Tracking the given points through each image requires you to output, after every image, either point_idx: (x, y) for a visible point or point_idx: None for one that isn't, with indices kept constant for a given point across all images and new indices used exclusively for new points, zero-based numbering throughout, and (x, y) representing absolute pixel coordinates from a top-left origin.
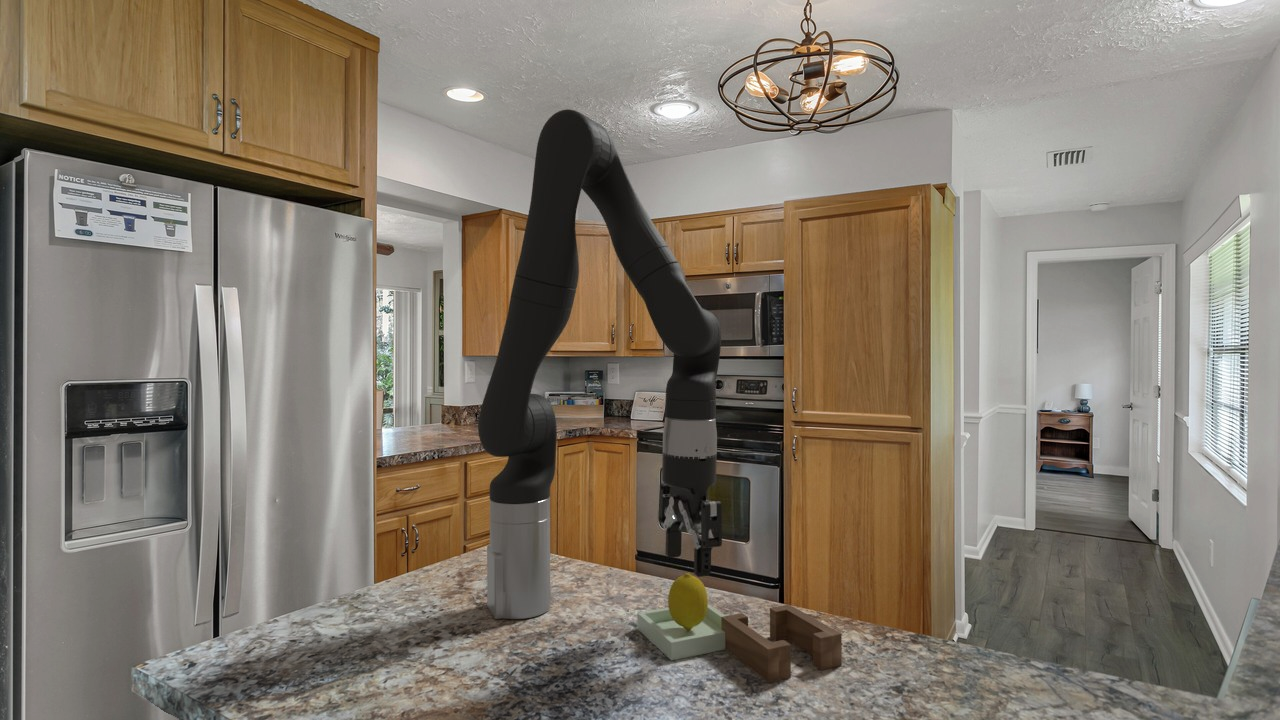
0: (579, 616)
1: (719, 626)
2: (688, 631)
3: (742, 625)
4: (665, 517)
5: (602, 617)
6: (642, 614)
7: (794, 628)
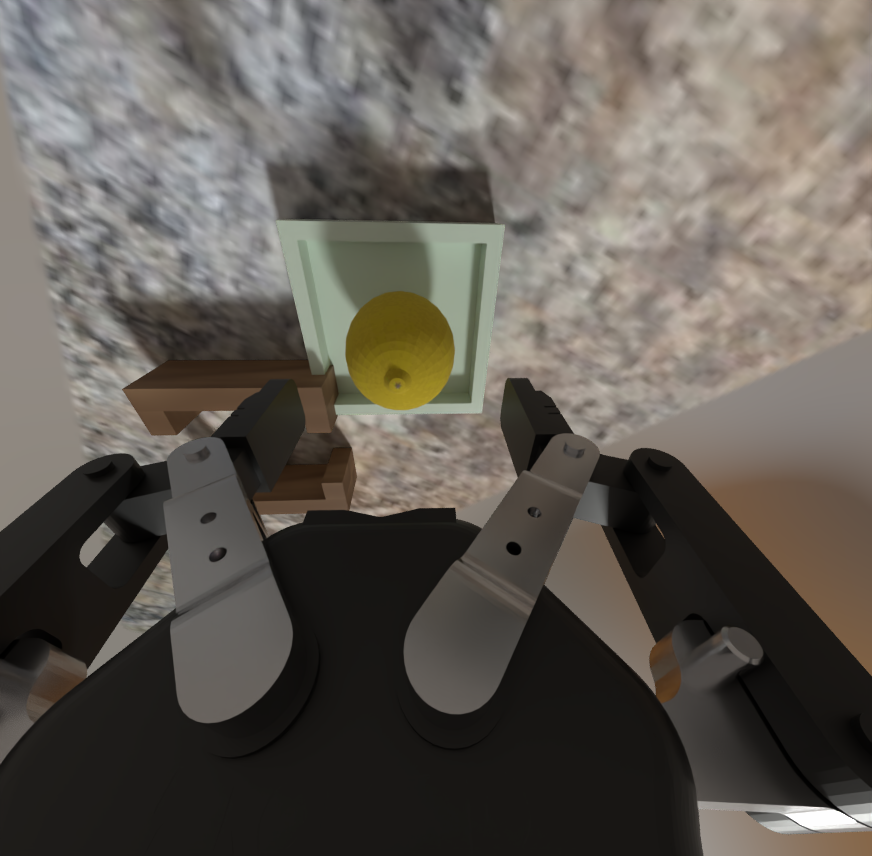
0: (685, 64)
1: None
2: None
3: None
4: (627, 491)
5: (622, 152)
6: (486, 234)
7: (308, 481)
